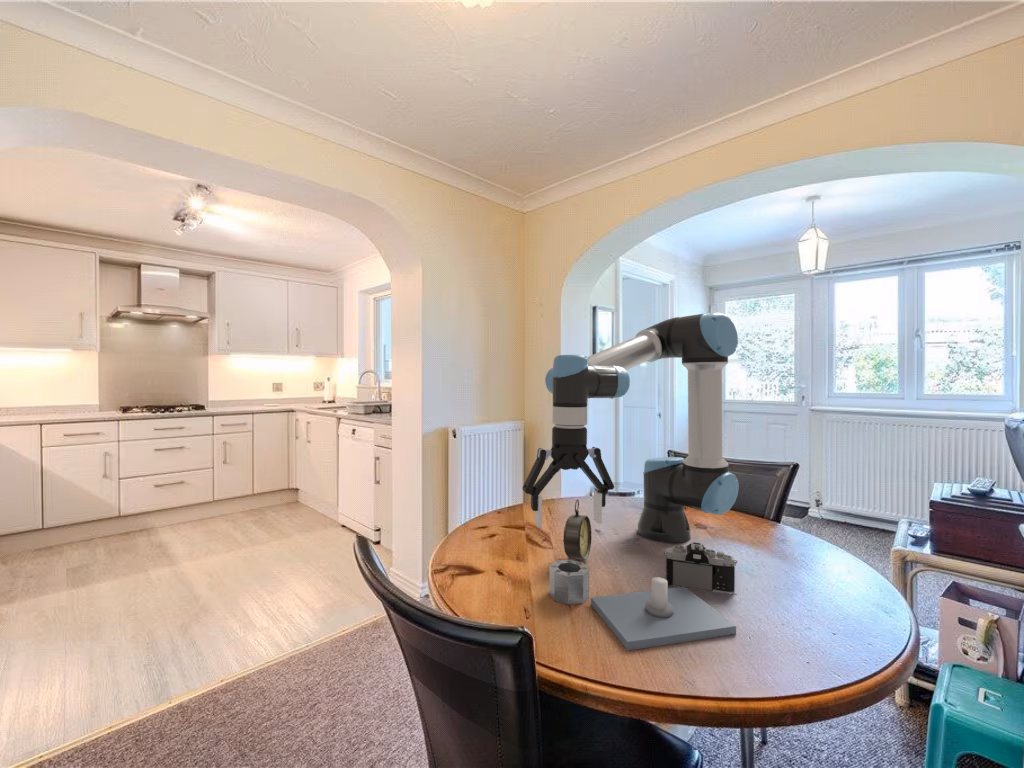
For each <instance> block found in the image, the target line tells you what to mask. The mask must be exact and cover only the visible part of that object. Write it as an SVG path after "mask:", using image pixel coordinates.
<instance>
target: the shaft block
mask: <svg viewBox="0 0 1024 768" xmlns="http://www.w3.org/2000/svg"><path fill="white" fill-rule="evenodd" d="M668 587H669V585H668V581H667V580H666V578H663V577H660V576H659V577H658V576H657V577H656V576H655V577H652V578H651V589H650V590H645V591H644V590H642V591H635V592H625V593H617V594H609V595H602V596H593V597H591V598H590V605H591V607H593V609H594V610H595V611H596V612H597V614H598V615H599V617H600V618H601V619H602V621H604V623H605V624H606V625H607V627H609V629H610V630H611V631H612V633H613V634H614V635H615V637H616V638H617V639H618V640H619V642H620V643H621V645H622V646H624V648H625V649H626V651H632V650H633V651H634V650H639V649H645V648H646V649H647V648H652V647H653V648H654V647H658V646H659V647H660V646H666V645H672V644H678V643H679V644H680V643H687V642H692V641H700V640H705V639H706V638H707V639H713V638H718V636H720V637H725V636H724V635H726V636H731V635H730V634H733V635H736V634H737V625H736V624H734V623H733V622H732V621H730V620H729V619H728V618H727V617H726V616H724V615H722V614H721V613H720V612H719V611H718V610H716V609H715V608H713V606H711V605H709V604H708V603H707V602H705V600H704V599H701V598H700V596H698V595H696V594H695V593H694V592H693V591H691V590H690V589H689V588H686V587H685V586H683V587H677V586H674V587H669V588H668ZM712 637H713V638H712Z"/></svg>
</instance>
